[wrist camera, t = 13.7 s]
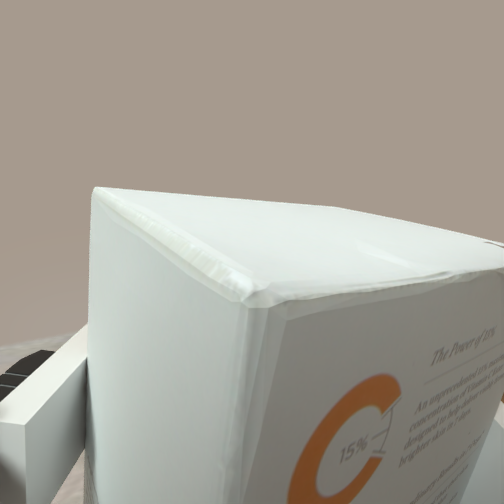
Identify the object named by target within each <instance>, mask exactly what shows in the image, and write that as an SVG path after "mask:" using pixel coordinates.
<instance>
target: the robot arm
mask: <svg viewBox="0 0 504 504" xmlns="http://www.w3.org/2000/svg"><path fill="white" fill-rule="evenodd" d="M87 344H88V323H87V324H86V325H85V326H84V327H83V328H82V329H81V330H80V331H79V332H77V333H76V334H75V335H74V336H73V337H72V338H71V339H70V340H69V341H67V342H66V343H65V344H64V345H63V346H62V347H61V348H60V349H59V350H57V351H56V352H54V351H47V350H40V351H38V352H36V353H33V354H31V355H29V356H27V357H25V358H22V359H21V360H19V361H18V362H17V363H16V364H14V365H13V366H12V367H11V368H9V369H8V370H7V371H6V372H5V374H2V375H1V376H0V504H50V503H51V502H52V500H53V499H54V497H55V495H56V494H57V492H58V490H59V489H60V487H61V486H62V484H63V482H64V481H65V479H66V478H67V476H68V474H69V473H70V471H71V469H72V468H73V466H74V465H75V463H76V461H77V460H78V458H79V457H80V455H81V453H82V452H83V450H84V448H85V423H86V391H87ZM460 504H504V403H503V402H502V401H500V404H499V407H498V409H497V412H496V414H495V417H494V420H493V422H492V425H491V427H490V430H489V432H488V435H487V437H486V440H485V442H484V445H483V447H482V450H481V453H480V455H479V458H478V460H477V463H476V465H475V468H474V470H473V473H472V475H471V478H470V480H469V482H468V485H467V487H466V489H465V492H464V494H463V497H462V499H461V502H460Z"/></svg>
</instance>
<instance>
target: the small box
mask: <svg viewBox="0 0 504 504" xmlns="http://www.w3.org/2000/svg"><path fill="white" fill-rule="evenodd" d="M503 393H504V244H503V243H499V242H495V241H491V240H486V239H483V238H479V237H474V236H470V235H466V234H462V233H458V232H453V231H449V230H445V229H440V228H435V227H431V226H427V225H422V224H418V223H413V222H409V221H404V220H399V219H394V218H389V217H384V216H379V215H374V214H369V213H364V212H359V211H354V210H349V209H343V208H338V207H330V206H318V205H306V204H294V203H281V202H268V201H258V200H247V199H233V198H222V197H209V196H198V195H187V194H175V193H162V192H151V191H138V190H127V189H116V188H106V187H95V188H94V190H93V193H92V201H91V225H90V261H89V306H88V344H87V391H86V423H85V461H84V500H83V504H460V502H461V499H462V497H463V494H464V492H465V489H466V487H467V485H468V482H469V480H470V478H471V475H472V473H473V470H474V468H475V465H476V463H477V460H478V458H479V455H480V453H481V450H482V447H483V445H484V442H485V440H486V437H487V435H488V432H489V430H490V427H491V425H492V422H493V420H494V417H495V414H496V412H497V409H498V407H499V404H500V401H501V398H502V396H503Z"/></svg>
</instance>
